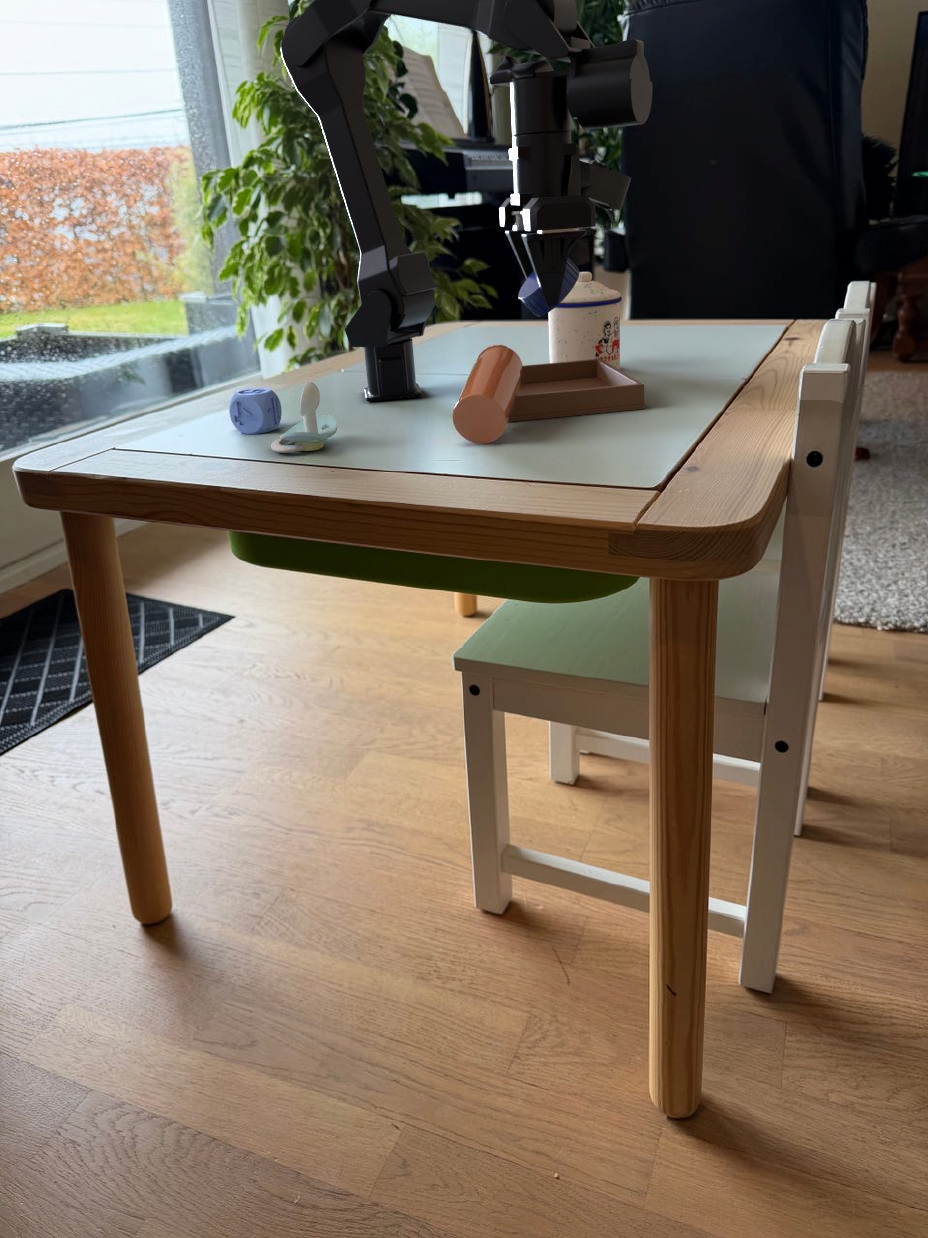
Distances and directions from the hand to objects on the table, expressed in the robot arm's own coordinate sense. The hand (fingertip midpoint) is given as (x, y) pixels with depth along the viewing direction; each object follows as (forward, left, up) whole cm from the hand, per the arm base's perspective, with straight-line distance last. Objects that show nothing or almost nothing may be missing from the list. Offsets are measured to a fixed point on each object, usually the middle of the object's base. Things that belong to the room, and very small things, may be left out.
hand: (546, 302), depth 98 cm
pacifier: (+10, -26, -11) cm, 30 cm away
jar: (+16, -10, -8) cm, 20 cm away
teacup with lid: (-17, +9, -11) cm, 22 cm away
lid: (0, 0, +2) cm, 3 cm away
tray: (-1, +1, -10) cm, 10 cm away
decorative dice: (0, -31, -11) cm, 33 cm away
